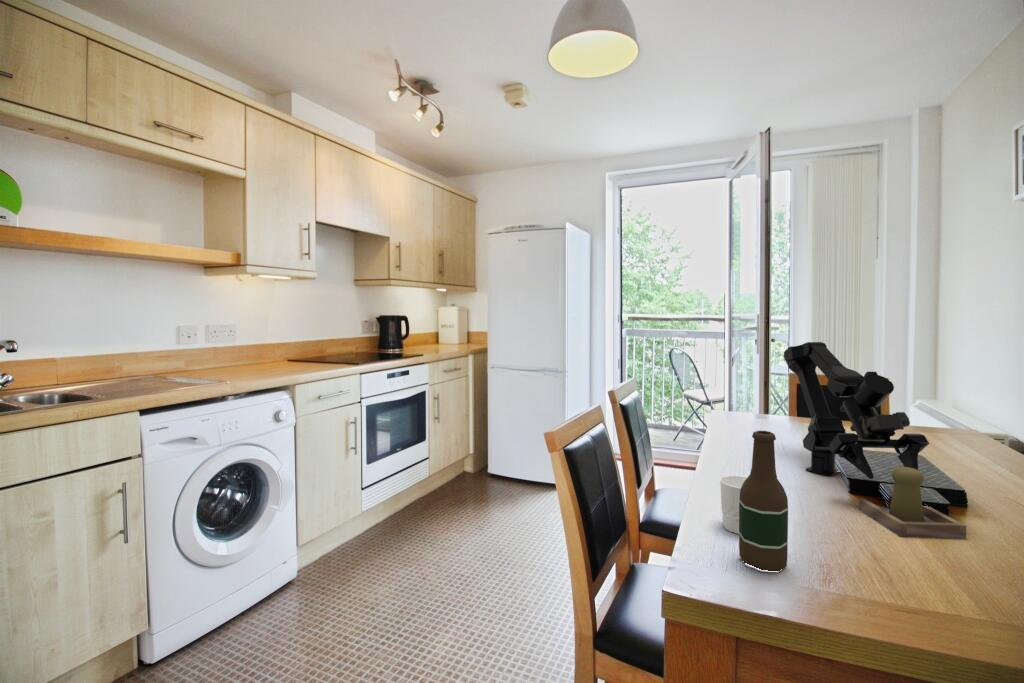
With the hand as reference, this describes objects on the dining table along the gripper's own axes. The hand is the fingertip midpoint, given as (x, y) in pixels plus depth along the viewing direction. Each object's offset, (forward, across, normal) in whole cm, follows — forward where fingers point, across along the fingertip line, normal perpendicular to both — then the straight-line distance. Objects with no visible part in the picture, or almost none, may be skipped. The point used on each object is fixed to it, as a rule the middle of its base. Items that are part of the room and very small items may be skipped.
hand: (894, 478), depth 104 cm
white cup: (+12, -36, -1) cm, 38 cm away
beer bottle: (+22, -37, -11) cm, 45 cm away
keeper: (+9, 0, +3) cm, 9 cm away
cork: (+8, 0, +3) cm, 9 cm away
